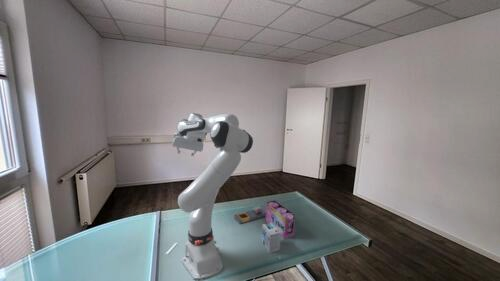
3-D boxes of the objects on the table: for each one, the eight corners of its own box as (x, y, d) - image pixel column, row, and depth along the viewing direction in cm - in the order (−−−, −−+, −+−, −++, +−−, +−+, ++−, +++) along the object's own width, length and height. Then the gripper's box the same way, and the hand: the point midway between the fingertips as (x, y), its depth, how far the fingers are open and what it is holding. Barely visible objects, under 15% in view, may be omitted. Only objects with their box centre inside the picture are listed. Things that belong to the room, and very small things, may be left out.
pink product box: (295, 236, 119) (297, 216, 117) (285, 240, 116) (286, 218, 114) (274, 218, 140) (275, 200, 138) (265, 220, 137) (265, 202, 135)
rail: (266, 216, 141) (266, 212, 141) (239, 224, 130) (239, 220, 130) (260, 212, 148) (260, 208, 148) (234, 219, 137) (234, 214, 137)
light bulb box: (261, 241, 114) (261, 223, 113) (271, 238, 116) (272, 222, 115) (269, 253, 104) (270, 234, 103) (280, 250, 106) (281, 232, 105)
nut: (261, 215, 141) (261, 208, 141) (256, 217, 139) (256, 209, 139) (258, 213, 145) (258, 205, 144) (253, 214, 143) (253, 207, 142)
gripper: (174, 134, 124) (169, 153, 127) (205, 140, 132) (200, 158, 136) (174, 131, 130) (169, 149, 133) (204, 137, 138) (199, 155, 141)
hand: (185, 154), depth 134 cm, fingers open, 8 cm apart
